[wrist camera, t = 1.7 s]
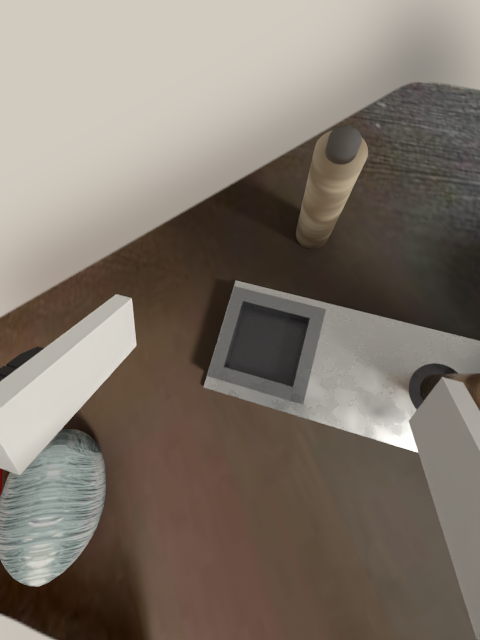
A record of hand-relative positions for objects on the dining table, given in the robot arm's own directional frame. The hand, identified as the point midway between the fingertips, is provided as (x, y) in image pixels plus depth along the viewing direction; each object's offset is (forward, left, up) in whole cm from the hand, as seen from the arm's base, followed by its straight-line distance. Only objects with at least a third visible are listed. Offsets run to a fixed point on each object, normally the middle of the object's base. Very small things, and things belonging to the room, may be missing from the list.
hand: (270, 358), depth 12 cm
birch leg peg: (-1, -19, -23) cm, 30 cm away
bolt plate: (-9, -3, -23) cm, 25 cm away
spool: (+18, +19, -23) cm, 35 cm away
